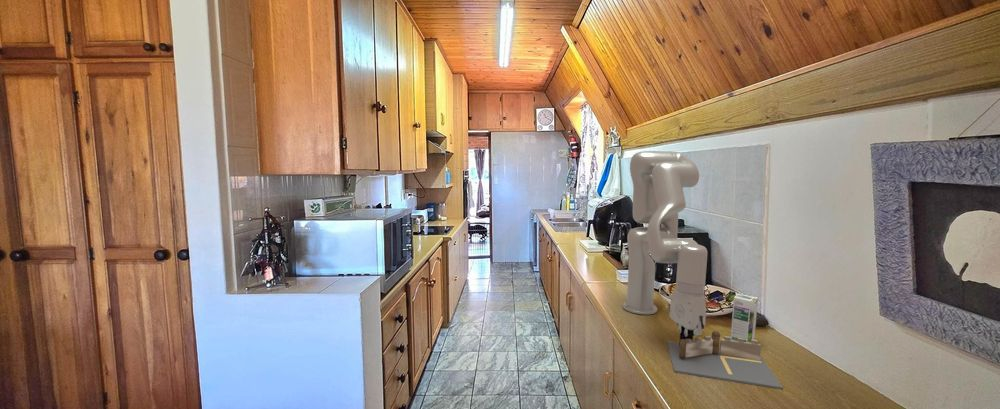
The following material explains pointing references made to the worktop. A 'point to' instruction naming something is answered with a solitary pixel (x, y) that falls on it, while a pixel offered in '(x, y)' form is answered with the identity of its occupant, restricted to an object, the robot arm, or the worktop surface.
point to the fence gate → (695, 347)
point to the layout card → (724, 368)
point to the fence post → (736, 347)
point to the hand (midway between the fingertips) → (685, 347)
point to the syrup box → (744, 317)
